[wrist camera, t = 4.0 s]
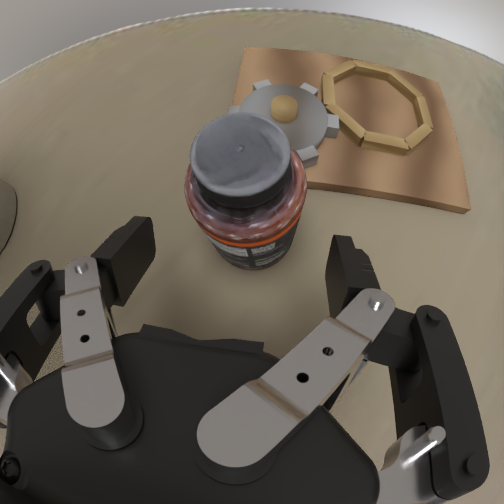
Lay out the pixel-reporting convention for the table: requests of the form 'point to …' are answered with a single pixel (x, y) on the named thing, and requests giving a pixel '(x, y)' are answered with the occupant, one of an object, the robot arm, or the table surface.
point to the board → (358, 125)
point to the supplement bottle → (246, 188)
